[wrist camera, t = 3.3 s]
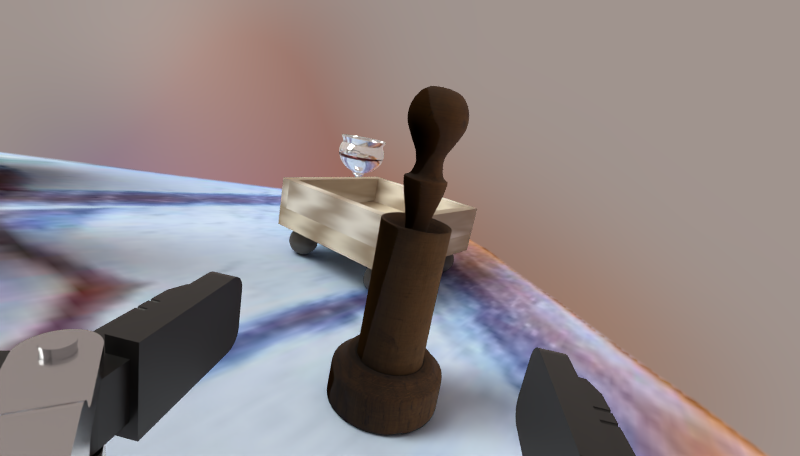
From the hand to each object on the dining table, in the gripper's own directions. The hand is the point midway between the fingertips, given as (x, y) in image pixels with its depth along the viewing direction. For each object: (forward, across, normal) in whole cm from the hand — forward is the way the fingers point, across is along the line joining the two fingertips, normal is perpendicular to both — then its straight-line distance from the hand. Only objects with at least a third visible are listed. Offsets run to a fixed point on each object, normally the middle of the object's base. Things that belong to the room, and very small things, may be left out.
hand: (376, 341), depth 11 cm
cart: (+33, +5, +10) cm, 35 cm away
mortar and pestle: (+11, 0, +11) cm, 15 cm away
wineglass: (+51, +12, +10) cm, 53 cm away
